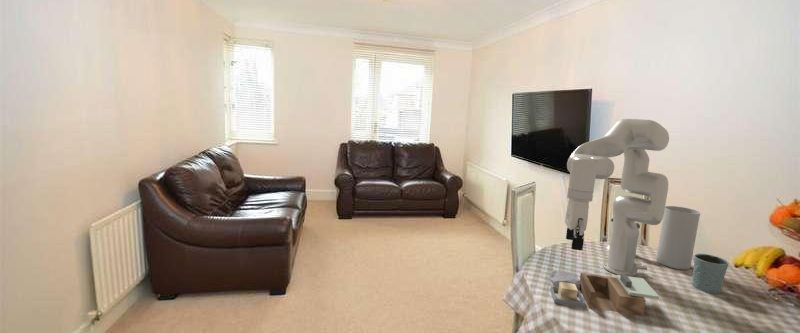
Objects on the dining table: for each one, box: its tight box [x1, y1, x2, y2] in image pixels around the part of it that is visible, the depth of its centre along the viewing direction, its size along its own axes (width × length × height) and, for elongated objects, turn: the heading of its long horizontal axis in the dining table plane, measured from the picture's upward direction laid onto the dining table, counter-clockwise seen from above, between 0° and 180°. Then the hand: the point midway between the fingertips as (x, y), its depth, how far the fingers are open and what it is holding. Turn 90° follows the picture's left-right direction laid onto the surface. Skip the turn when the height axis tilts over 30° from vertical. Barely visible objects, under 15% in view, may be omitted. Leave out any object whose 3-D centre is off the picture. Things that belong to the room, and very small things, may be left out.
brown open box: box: [579, 272, 647, 317], centre depth 128 cm, size 16×15×6 cm
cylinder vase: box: [655, 205, 701, 270], centre depth 164 cm, size 12×12×25 cm
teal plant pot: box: [691, 253, 730, 294], centre depth 143 cm, size 10×10×12 cm
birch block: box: [557, 282, 578, 301], centre depth 128 cm, size 5×5×5 cm
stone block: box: [549, 269, 581, 291], centre depth 141 cm, size 12×5×10 cm
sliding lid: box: [615, 274, 660, 300], centre depth 126 cm, size 8×14×3 cm, turn 166°
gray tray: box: [549, 285, 586, 309], centre depth 128 cm, size 9×9×2 cm
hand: (573, 244), depth 125 cm, fingers open, 9 cm apart
